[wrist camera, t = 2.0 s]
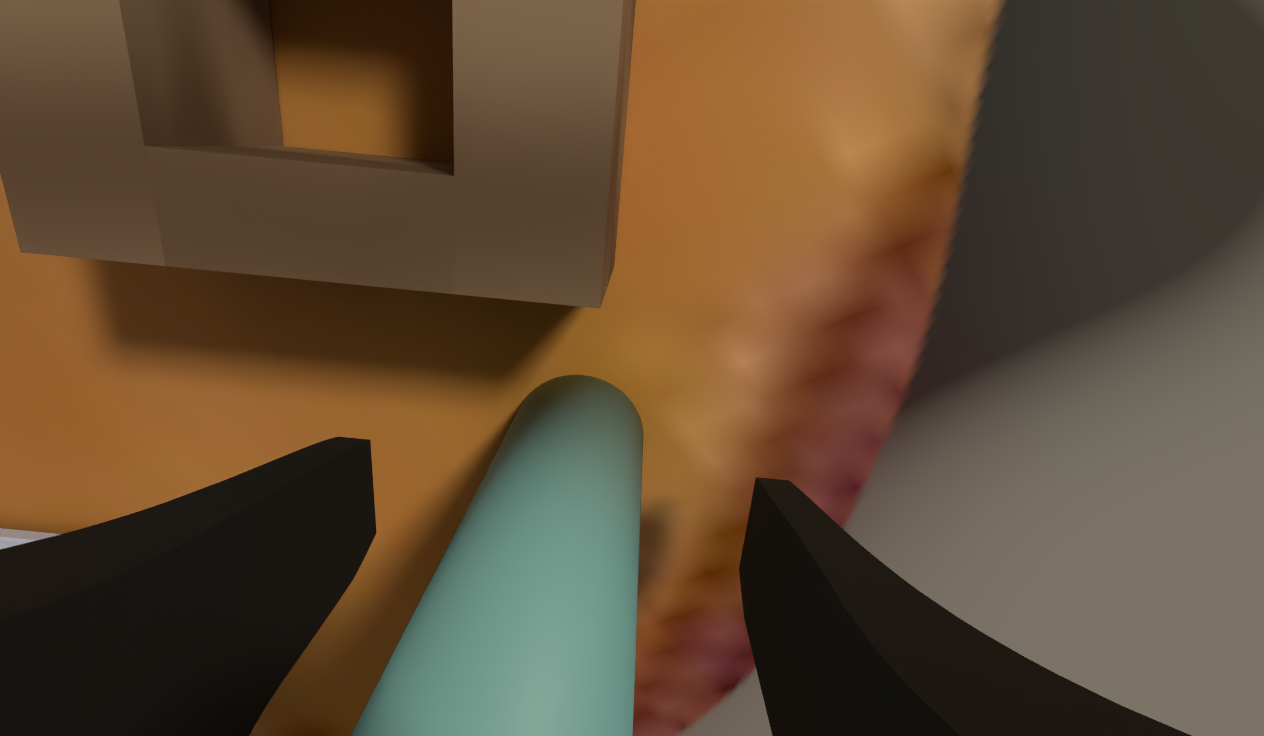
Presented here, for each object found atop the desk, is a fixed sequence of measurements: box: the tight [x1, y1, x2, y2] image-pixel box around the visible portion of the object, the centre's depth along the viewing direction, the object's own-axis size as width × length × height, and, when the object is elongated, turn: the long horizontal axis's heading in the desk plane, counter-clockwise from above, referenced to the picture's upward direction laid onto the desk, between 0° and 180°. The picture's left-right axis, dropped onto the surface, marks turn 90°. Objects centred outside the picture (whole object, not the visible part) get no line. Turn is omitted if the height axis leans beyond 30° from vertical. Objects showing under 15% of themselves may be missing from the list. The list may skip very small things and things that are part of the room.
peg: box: [351, 375, 643, 736], centre depth 10 cm, size 3×3×9 cm
